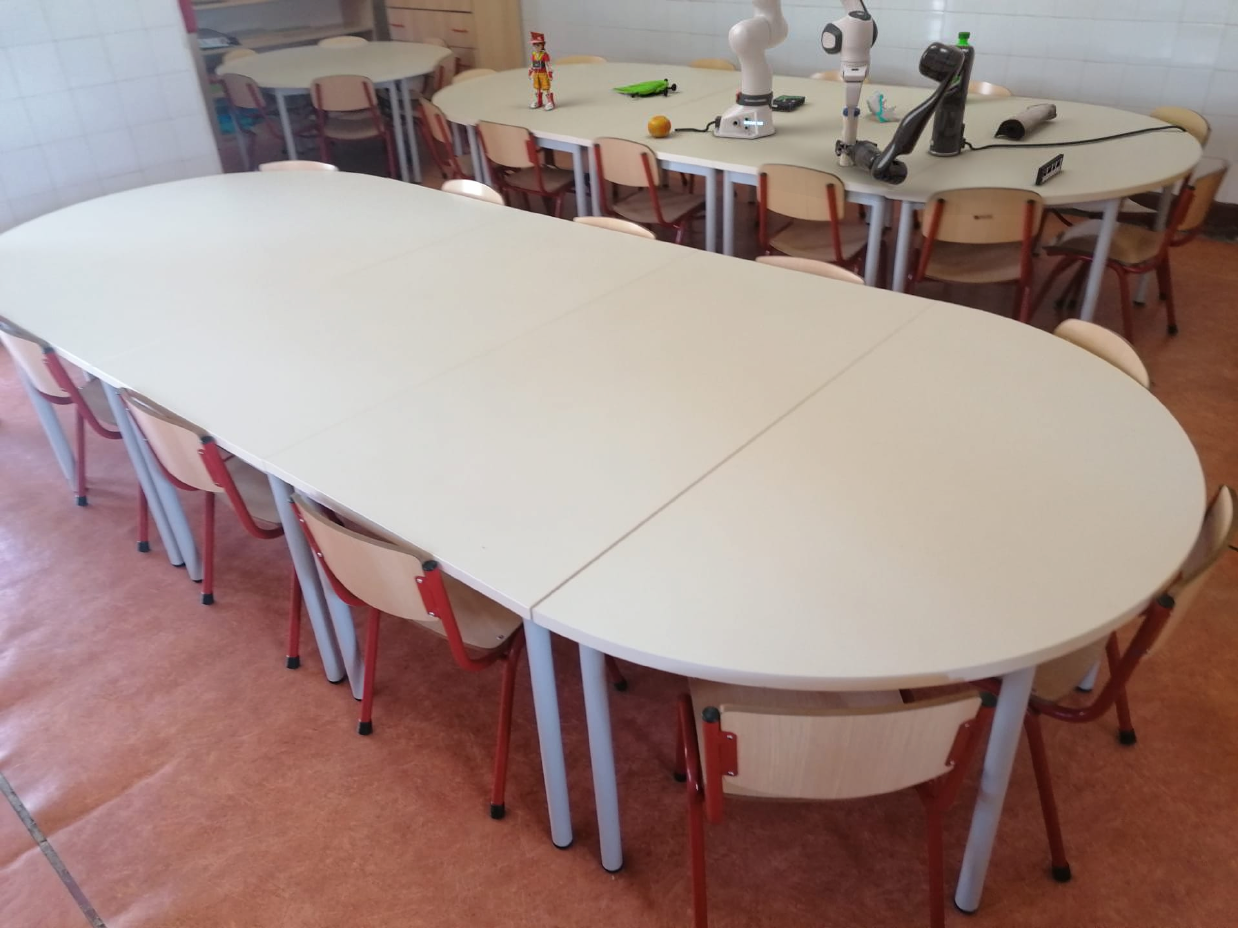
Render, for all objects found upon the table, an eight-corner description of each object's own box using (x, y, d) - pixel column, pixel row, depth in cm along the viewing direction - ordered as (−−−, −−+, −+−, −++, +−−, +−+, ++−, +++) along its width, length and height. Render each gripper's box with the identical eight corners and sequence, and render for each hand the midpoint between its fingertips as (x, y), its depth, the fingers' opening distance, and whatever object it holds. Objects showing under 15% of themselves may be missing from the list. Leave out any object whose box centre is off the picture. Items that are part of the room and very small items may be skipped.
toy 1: (525, 109, 381) (517, 32, 364) (534, 104, 388) (527, 28, 371) (550, 110, 377) (543, 32, 360) (559, 105, 384) (553, 28, 367)
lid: (851, 111, 291) (852, 106, 290) (863, 114, 287) (863, 109, 286) (839, 114, 289) (839, 109, 288) (851, 117, 285) (851, 112, 284)
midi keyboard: (1039, 185, 269) (1043, 168, 266) (1035, 184, 270) (1038, 168, 267) (1060, 170, 279) (1064, 154, 277) (1056, 169, 280) (1060, 153, 277)
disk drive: (790, 112, 355) (805, 103, 365) (791, 105, 353) (805, 96, 363) (766, 110, 360) (781, 101, 370) (766, 103, 358) (781, 94, 368)
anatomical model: (861, 90, 342) (887, 83, 342) (863, 118, 348) (889, 111, 348) (873, 100, 330) (900, 92, 329) (875, 128, 336) (902, 121, 335)
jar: (846, 167, 294) (850, 114, 285) (836, 163, 298) (841, 111, 288) (856, 164, 296) (862, 112, 286) (847, 161, 299) (852, 109, 290)
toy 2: (686, 85, 398) (631, 84, 414) (685, 72, 395) (629, 72, 411) (651, 104, 381) (596, 103, 397) (650, 92, 378) (594, 91, 394)
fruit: (641, 128, 333) (652, 109, 330) (648, 131, 340) (659, 112, 337) (658, 141, 331) (670, 121, 328) (665, 143, 339) (677, 124, 336)
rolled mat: (1024, 108, 329) (1048, 91, 321) (1038, 129, 330) (1062, 112, 321) (990, 131, 312) (1014, 113, 304) (1004, 153, 312) (1029, 136, 304)
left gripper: (845, 63, 289) (841, 107, 297) (843, 76, 273) (839, 123, 280) (865, 62, 288) (861, 107, 295) (865, 76, 271) (860, 124, 279)
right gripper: (889, 141, 280) (866, 128, 294) (846, 146, 278) (825, 132, 292) (886, 165, 285) (864, 151, 298) (844, 170, 283) (823, 156, 297)
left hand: (850, 115), depth 288 cm, fingers open, 7 cm apart
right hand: (845, 142), depth 295 cm, fingers closed on jar, 4 cm apart
